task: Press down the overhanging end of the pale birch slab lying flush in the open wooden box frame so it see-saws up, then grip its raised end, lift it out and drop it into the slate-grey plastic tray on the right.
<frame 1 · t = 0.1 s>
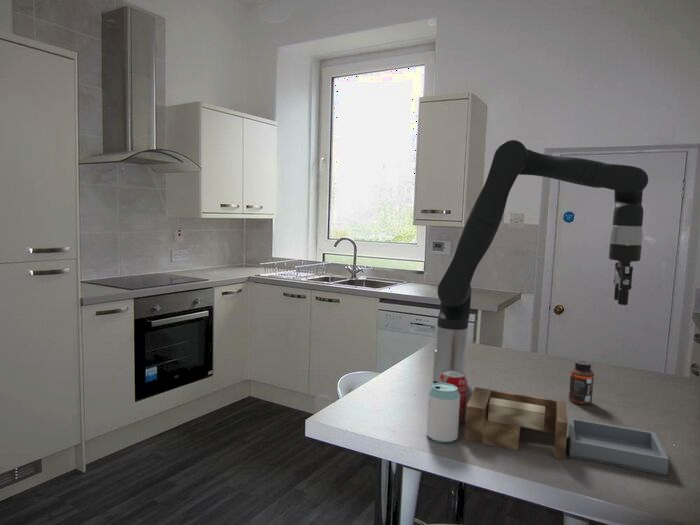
hand: (620, 302, 134), 29 cm above the table, tool pointing down, fingers open, 8 cm apart
tray: (612, 451, 109), on the table
soda can: (450, 420, 123), on the table
can: (441, 438, 113), on the table
supplement bottle: (579, 402, 139), on the table
open wooden box frame: (514, 436, 115), on the table
slab: (515, 421, 113), point 4 cm above the table, touching open wooden box frame
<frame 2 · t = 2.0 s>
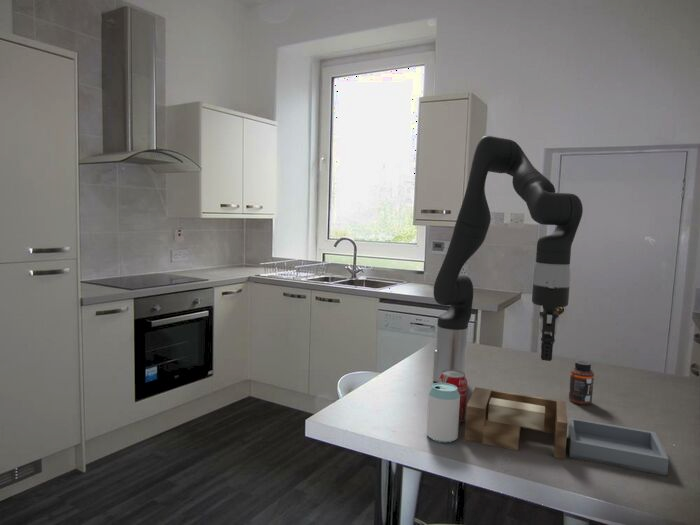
hand: (546, 355, 110), 20 cm above the table, tool pointing down, fingers open, 8 cm apart
nothing on the table moved.
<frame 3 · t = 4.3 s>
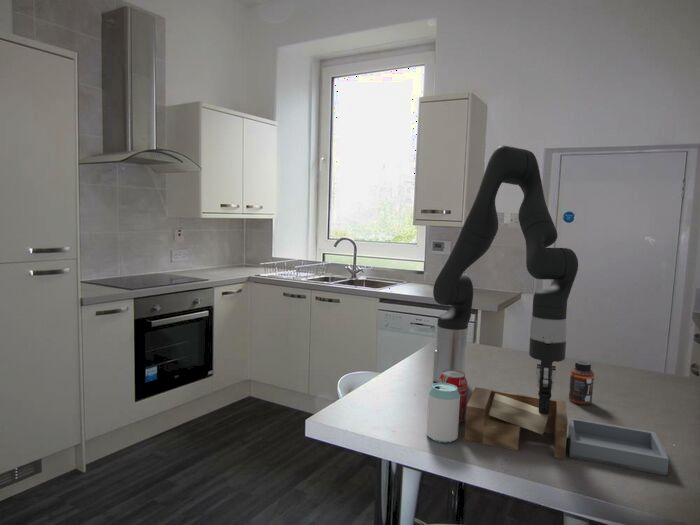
hand: (543, 412, 111), 7 cm above the table, tool pointing down, fingers closed
slab: (516, 421, 113), point 4 cm above the table, tilted 11°, touching gripper, open wooden box frame
everything else where it was.
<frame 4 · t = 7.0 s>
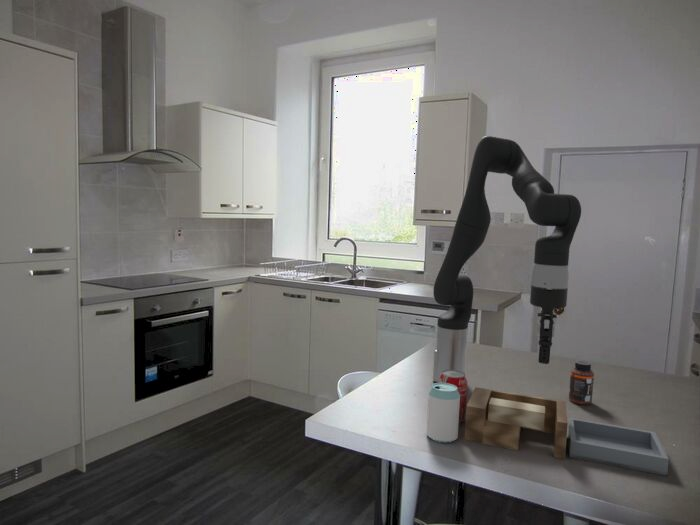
hand: (543, 359, 110), 19 cm above the table, tool pointing down, fingers open, 5 cm apart
slab: (515, 421, 113), point 4 cm above the table, touching open wooden box frame
everything else where it was.
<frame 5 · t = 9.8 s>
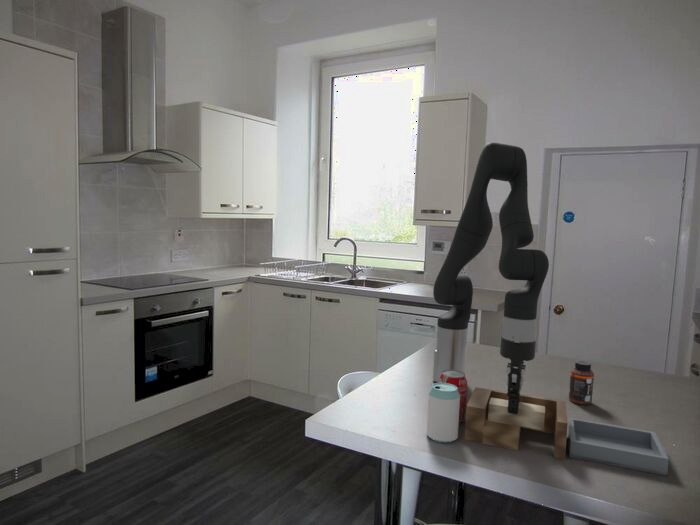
hand: (513, 409, 113), 7 cm above the table, tool pointing down, fingers closed on slab, 4 cm apart
slab: (515, 421, 113), point 4 cm above the table, touching gripper, open wooden box frame
everything else where it was.
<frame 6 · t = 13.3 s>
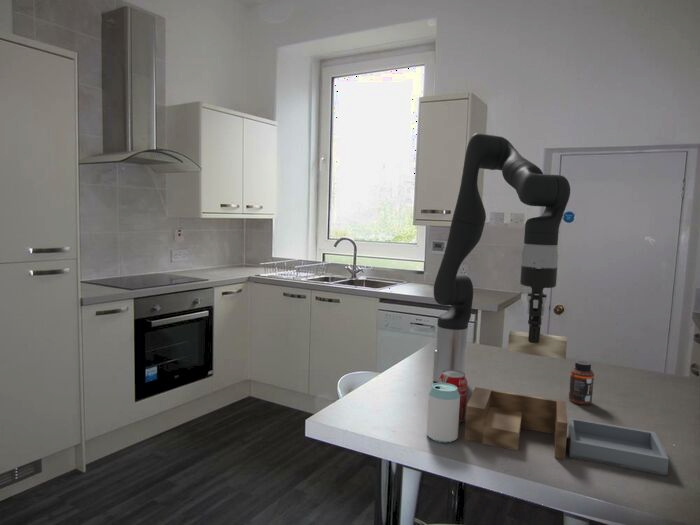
hand: (534, 339, 111), 24 cm above the table, tool pointing down, fingers closed on slab, 4 cm apart
slab: (536, 353, 111), point 21 cm above the table, touching gripper
everything else where it was.
when the fingers open (11 cm above the table, at t = 16.6 s): slab drops 7 cm, resting on tray.
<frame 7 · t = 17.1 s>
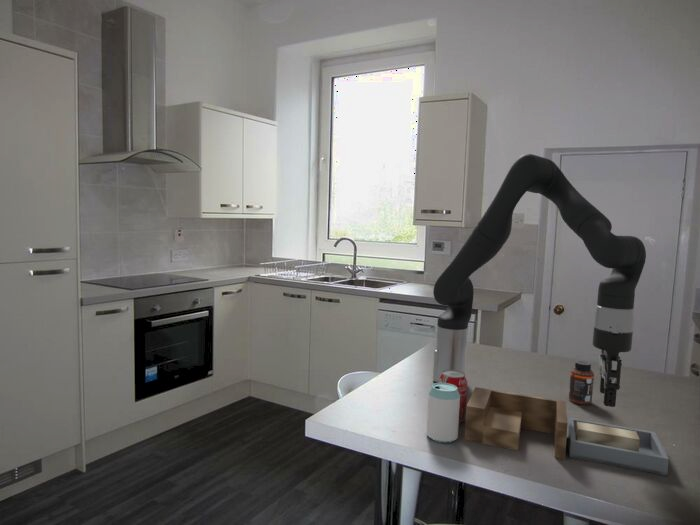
hand: (607, 399, 109), 12 cm above the table, tool pointing down, fingers open, 8 cm apart
slab: (605, 447, 109), point 1 cm above the table, touching tray
everything else where it was.
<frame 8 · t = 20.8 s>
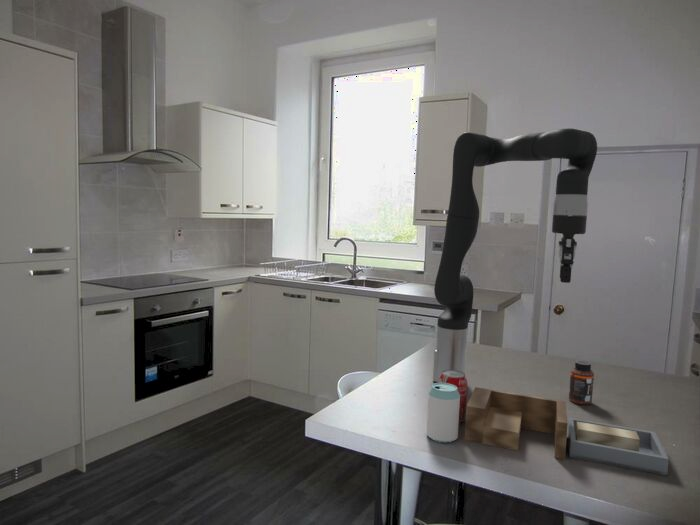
hand: (564, 280, 120), 36 cm above the table, tool pointing down, fingers open, 8 cm apart
nothing on the table moved.
at the end: slab inside the target area on the tray (1.5 cm from its centre), point 0.6 cm above the tray's base; the gripper is holding nothing; slab moved 19.6 cm from its start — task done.
